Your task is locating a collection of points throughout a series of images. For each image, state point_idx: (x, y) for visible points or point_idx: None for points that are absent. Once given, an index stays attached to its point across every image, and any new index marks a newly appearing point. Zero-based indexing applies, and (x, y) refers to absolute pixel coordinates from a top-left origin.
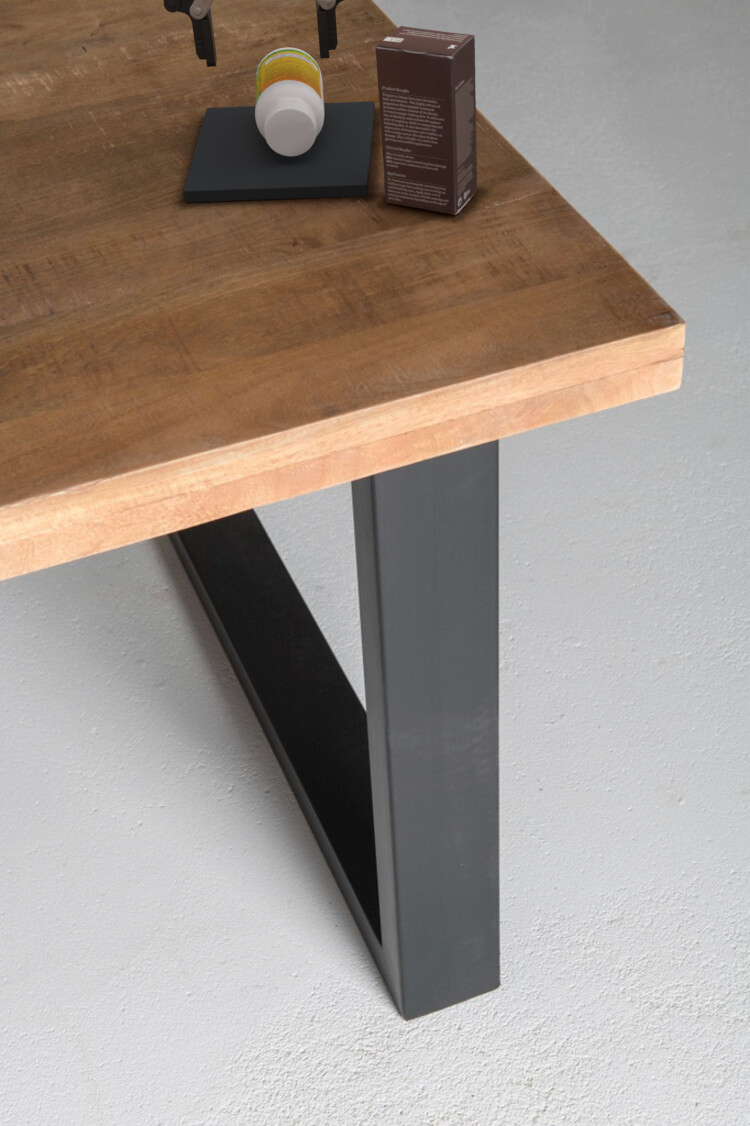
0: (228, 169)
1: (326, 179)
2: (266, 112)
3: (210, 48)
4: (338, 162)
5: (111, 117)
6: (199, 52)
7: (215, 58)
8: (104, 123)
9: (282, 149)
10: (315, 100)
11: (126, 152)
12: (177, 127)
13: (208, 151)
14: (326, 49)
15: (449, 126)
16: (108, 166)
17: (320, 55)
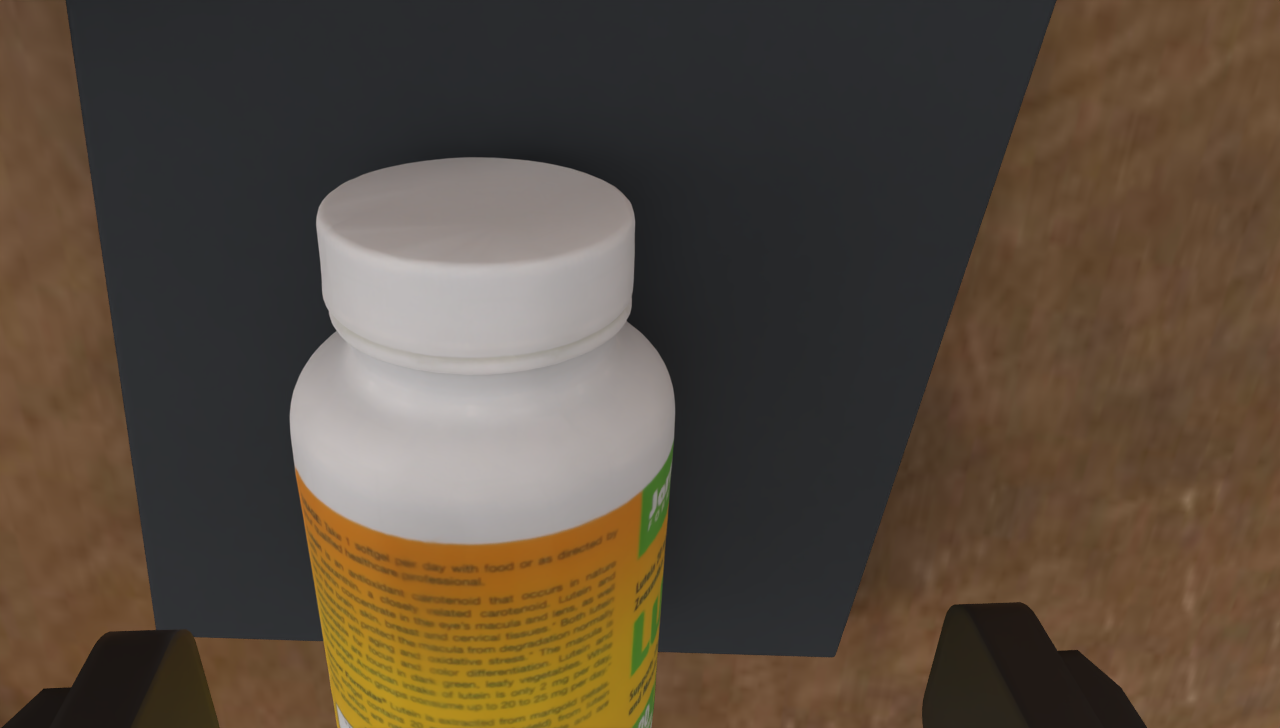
0: (813, 163)
1: None
2: (614, 374)
3: (1041, 701)
4: (251, 128)
5: (1137, 667)
6: (1096, 694)
7: (962, 660)
8: (1170, 637)
9: (537, 169)
10: (311, 418)
11: (1155, 448)
12: (938, 587)
13: (878, 344)
14: (99, 677)
15: None
16: (1249, 359)
17: (167, 637)
